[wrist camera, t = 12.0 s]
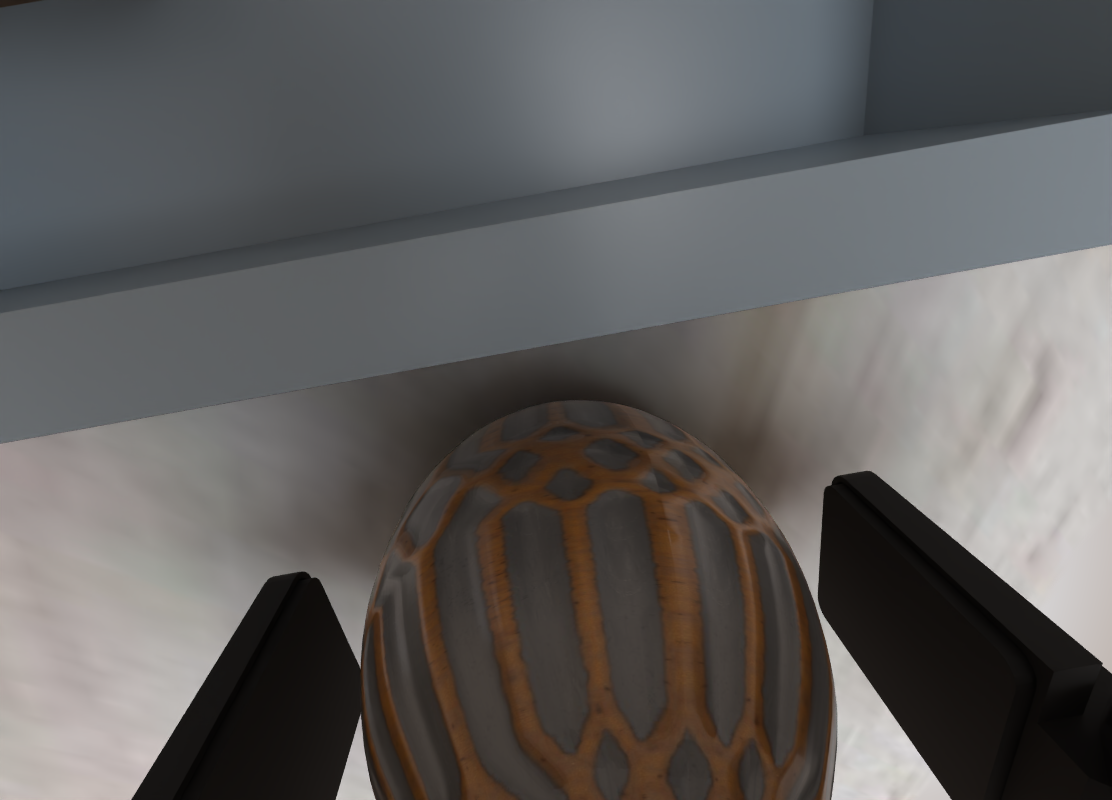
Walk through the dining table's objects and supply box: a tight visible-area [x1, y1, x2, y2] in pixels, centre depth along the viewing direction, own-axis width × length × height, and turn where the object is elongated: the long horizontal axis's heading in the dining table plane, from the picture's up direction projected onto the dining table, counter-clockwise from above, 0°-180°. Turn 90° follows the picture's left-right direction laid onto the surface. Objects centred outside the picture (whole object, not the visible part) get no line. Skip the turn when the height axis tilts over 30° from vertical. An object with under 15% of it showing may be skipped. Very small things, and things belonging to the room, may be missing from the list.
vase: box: [360, 400, 837, 800], centre depth 8 cm, size 7×7×9 cm
